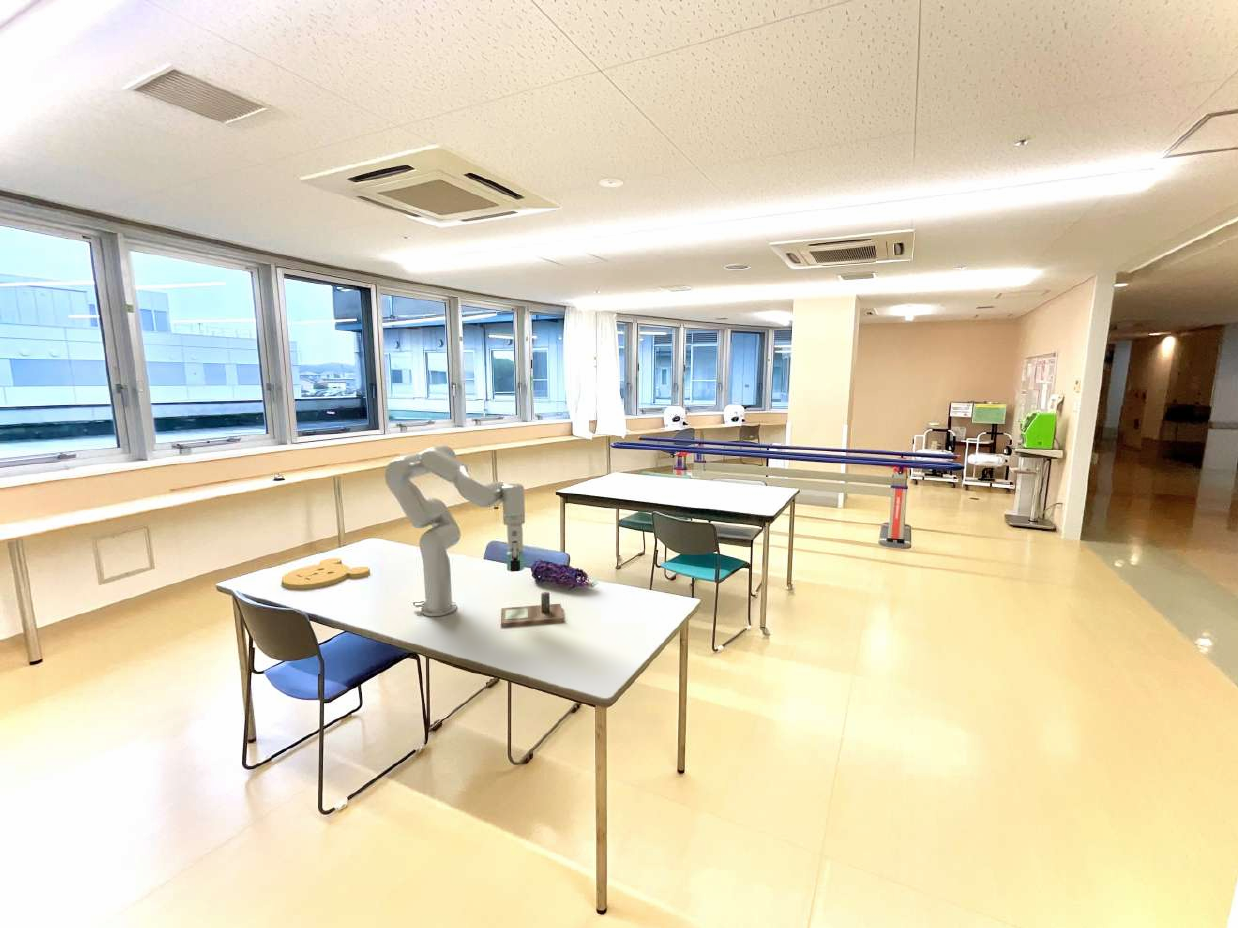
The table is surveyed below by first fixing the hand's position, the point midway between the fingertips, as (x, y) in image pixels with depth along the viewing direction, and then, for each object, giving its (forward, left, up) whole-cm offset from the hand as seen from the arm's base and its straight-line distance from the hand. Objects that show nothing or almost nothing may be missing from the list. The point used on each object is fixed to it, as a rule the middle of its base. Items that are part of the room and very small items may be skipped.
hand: (515, 567), depth 192 cm
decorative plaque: (-83, +59, -20) cm, 104 cm away
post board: (+6, 0, -19) cm, 20 cm away
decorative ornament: (+20, +28, -20) cm, 40 cm away
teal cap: (0, 0, 0) cm, 0 cm away
